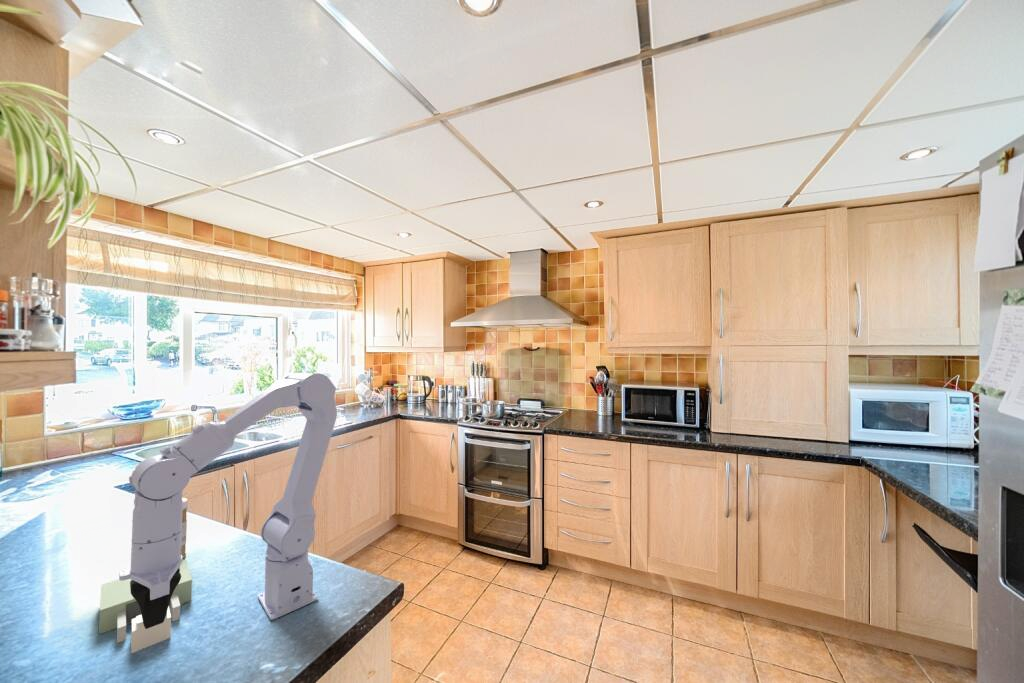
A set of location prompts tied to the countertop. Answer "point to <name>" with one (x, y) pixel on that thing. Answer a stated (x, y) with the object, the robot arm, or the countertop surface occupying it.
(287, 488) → the robot arm
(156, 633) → the cream small block
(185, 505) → the sprinkles bottle
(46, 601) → the countertop surface
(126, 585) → the deck
